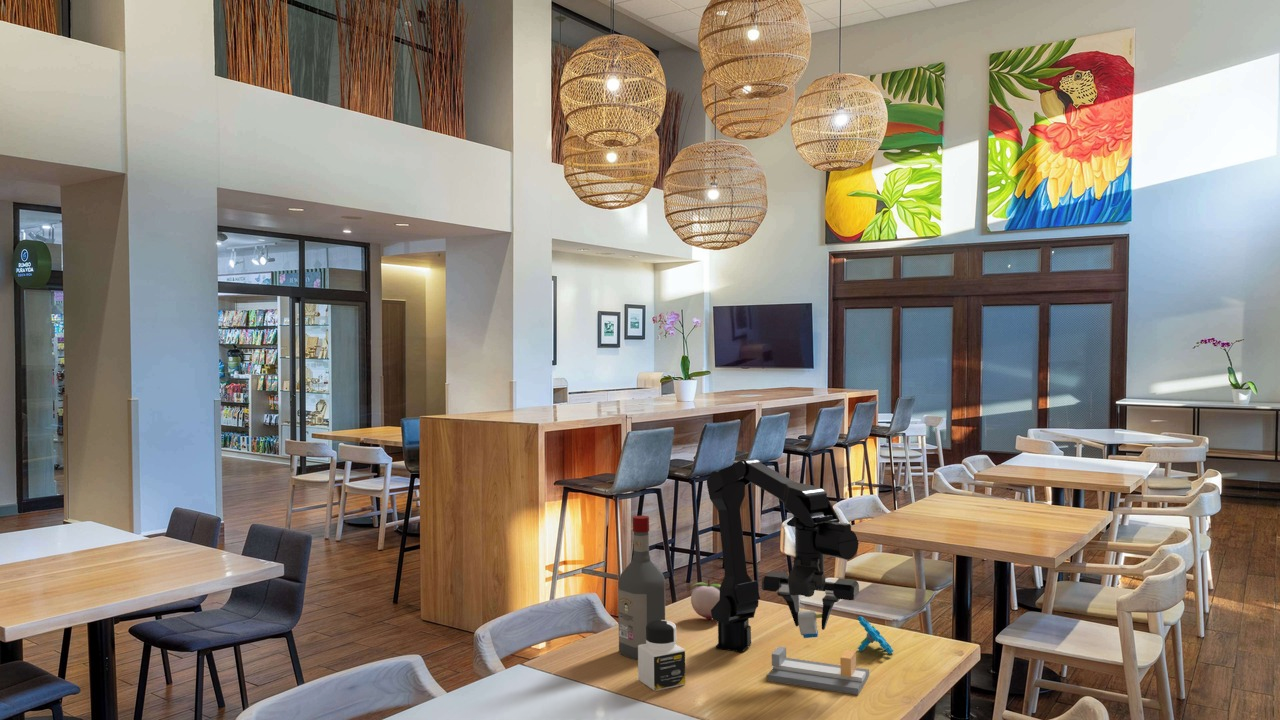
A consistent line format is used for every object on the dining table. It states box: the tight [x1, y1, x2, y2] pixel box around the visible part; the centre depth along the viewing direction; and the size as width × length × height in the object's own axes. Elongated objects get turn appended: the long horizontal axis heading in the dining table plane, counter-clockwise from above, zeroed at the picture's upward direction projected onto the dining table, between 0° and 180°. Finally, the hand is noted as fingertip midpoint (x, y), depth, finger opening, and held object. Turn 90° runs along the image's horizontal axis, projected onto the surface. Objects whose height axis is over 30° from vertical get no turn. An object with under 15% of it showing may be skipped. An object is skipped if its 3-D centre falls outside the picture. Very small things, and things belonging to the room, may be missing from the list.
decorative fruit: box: [690, 579, 721, 620], centre depth 208 cm, size 9×8×10 cm
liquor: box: [617, 515, 666, 661], centre depth 185 cm, size 9×9×30 cm
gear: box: [856, 615, 894, 655], centre depth 185 cm, size 11×6×10 cm
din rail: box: [766, 645, 870, 696], centre depth 169 cm, size 18×11×4 cm, turn 64°
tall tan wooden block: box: [839, 649, 857, 677], centre depth 167 cm, size 2×5×4 cm, turn 154°
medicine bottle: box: [637, 619, 686, 692], centre depth 168 cm, size 7×7×12 cm
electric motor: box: [798, 609, 822, 639], centre depth 170 cm, size 7×5×5 cm
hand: (810, 627), depth 170 cm, fingers closed on electric motor, 5 cm apart
